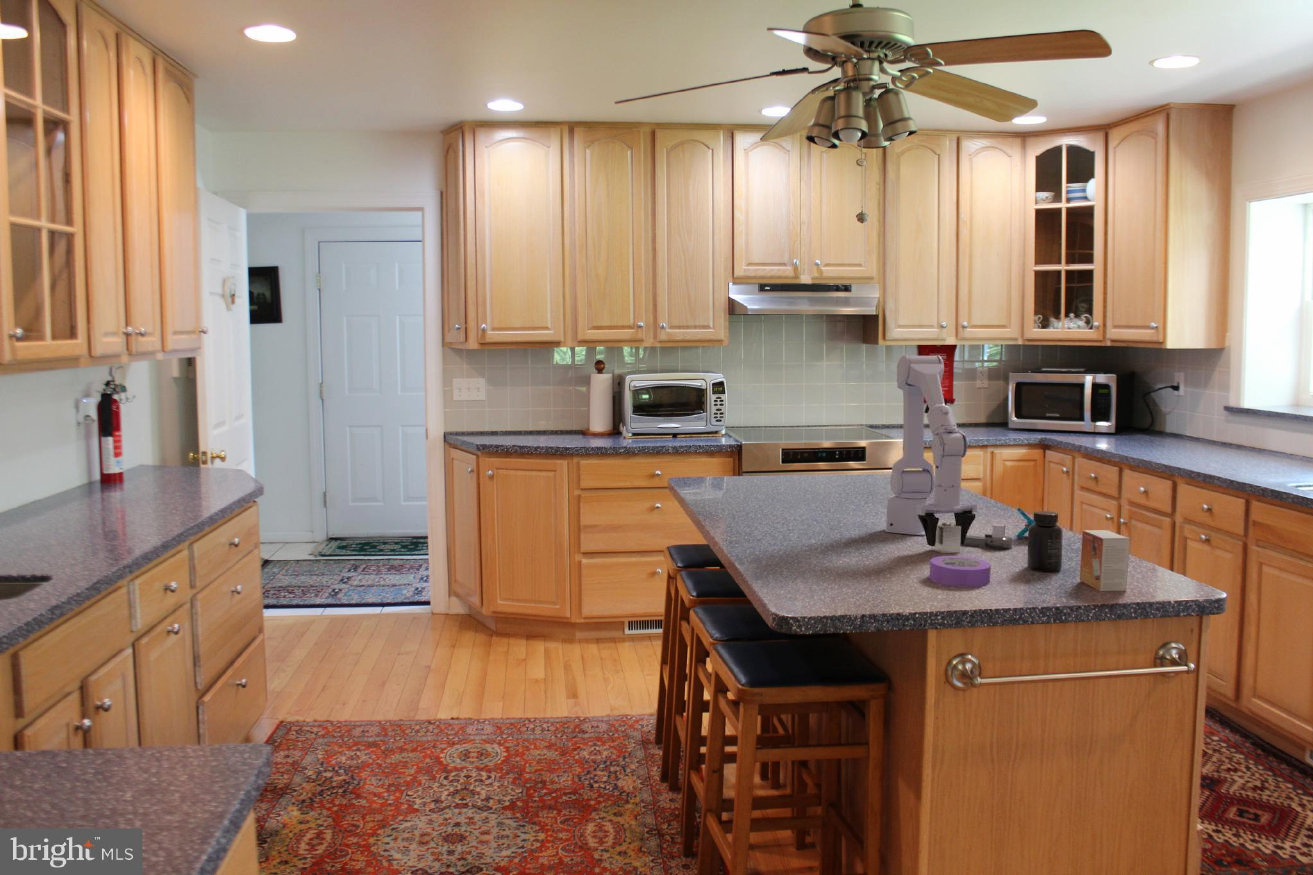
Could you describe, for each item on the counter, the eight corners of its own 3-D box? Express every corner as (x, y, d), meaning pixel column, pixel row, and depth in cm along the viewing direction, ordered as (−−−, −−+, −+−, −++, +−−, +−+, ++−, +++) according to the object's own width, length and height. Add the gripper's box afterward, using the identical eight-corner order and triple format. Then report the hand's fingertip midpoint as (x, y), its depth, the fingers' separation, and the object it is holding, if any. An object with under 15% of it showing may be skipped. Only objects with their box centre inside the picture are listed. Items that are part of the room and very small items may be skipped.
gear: (1053, 537, 237) (1022, 506, 239) (1033, 554, 238) (1002, 522, 240) (1049, 535, 247) (1020, 504, 250) (1031, 551, 249) (1001, 520, 251)
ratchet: (932, 543, 238) (932, 521, 238) (937, 538, 243) (938, 517, 243) (1009, 550, 230) (1010, 528, 230) (1013, 545, 235) (1014, 523, 235)
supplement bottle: (1060, 566, 215) (1063, 511, 214) (1062, 573, 208) (1065, 516, 207) (1026, 564, 217) (1028, 509, 216) (1026, 571, 211) (1029, 514, 209)
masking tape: (1002, 585, 199) (1003, 566, 199) (950, 589, 196) (951, 570, 196) (968, 572, 210) (968, 554, 210) (918, 575, 207) (919, 557, 207)
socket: (942, 553, 227) (943, 525, 226) (930, 549, 231) (931, 521, 231) (960, 552, 228) (961, 524, 228) (948, 548, 233) (949, 520, 232)
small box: (1078, 581, 202) (1081, 529, 201) (1105, 580, 203) (1108, 529, 202) (1099, 591, 194) (1102, 537, 193) (1127, 591, 195) (1130, 537, 194)
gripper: (929, 489, 222) (927, 550, 224) (985, 486, 227) (983, 546, 228) (912, 484, 229) (910, 543, 230) (967, 482, 233) (965, 539, 235)
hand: (945, 544), depth 230 cm, fingers open, 7 cm apart
